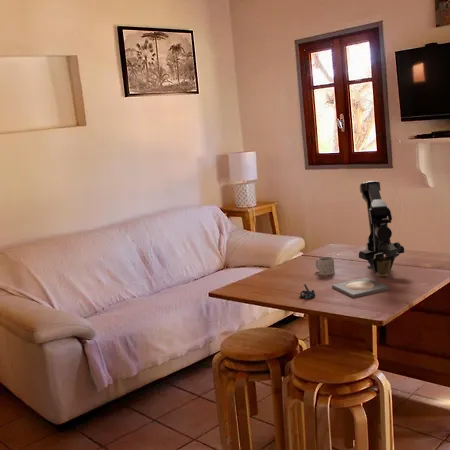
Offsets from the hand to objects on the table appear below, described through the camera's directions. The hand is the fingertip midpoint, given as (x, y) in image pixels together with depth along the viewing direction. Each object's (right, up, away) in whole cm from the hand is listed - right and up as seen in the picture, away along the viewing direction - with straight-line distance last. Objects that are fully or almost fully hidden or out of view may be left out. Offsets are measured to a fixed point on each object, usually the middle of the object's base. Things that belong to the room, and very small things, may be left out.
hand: (382, 272), depth 244 cm
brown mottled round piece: (0, -2, 0) cm, 2 cm away
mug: (-22, -2, +15) cm, 27 cm away
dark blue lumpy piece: (-33, -9, -15) cm, 38 cm away
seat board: (-12, -6, -12) cm, 18 cm away
